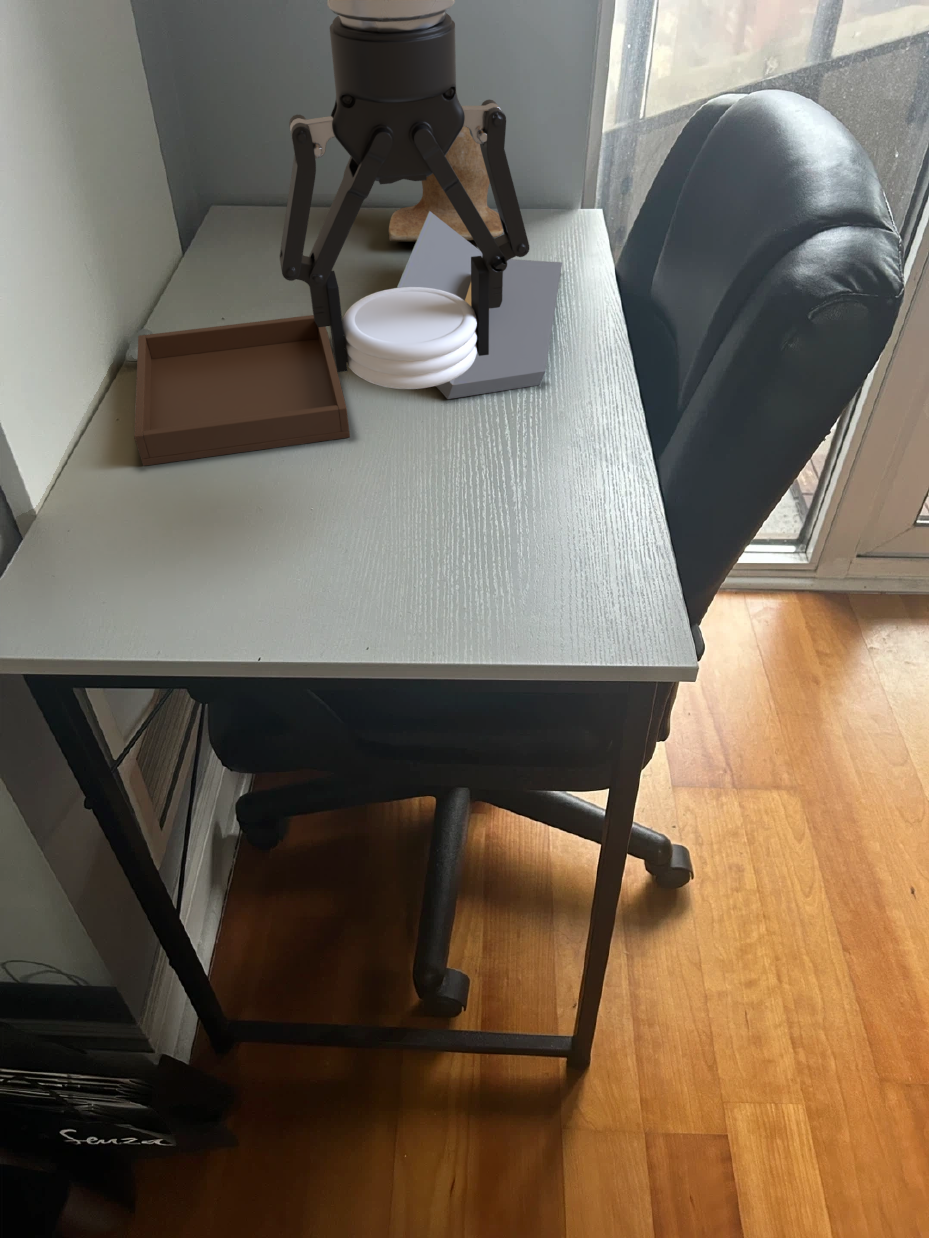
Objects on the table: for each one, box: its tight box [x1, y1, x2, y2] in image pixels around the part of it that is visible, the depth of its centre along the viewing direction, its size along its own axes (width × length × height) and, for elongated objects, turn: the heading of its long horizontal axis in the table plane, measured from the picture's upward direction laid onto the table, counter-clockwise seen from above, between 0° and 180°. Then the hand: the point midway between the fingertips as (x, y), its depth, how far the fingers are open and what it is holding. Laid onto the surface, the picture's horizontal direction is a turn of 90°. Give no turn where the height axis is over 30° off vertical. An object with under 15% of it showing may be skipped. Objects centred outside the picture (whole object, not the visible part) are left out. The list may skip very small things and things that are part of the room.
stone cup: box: [388, 127, 504, 243], centre depth 120 cm, size 15×12×15 cm
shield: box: [396, 211, 563, 400], centre depth 105 cm, size 17×5×30 cm
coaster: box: [342, 287, 477, 390], centre depth 70 cm, size 10×10×4 cm
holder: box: [133, 314, 351, 467], centre depth 95 cm, size 20×20×3 cm
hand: (411, 354), depth 71 cm, fingers closed on coaster, 10 cm apart
